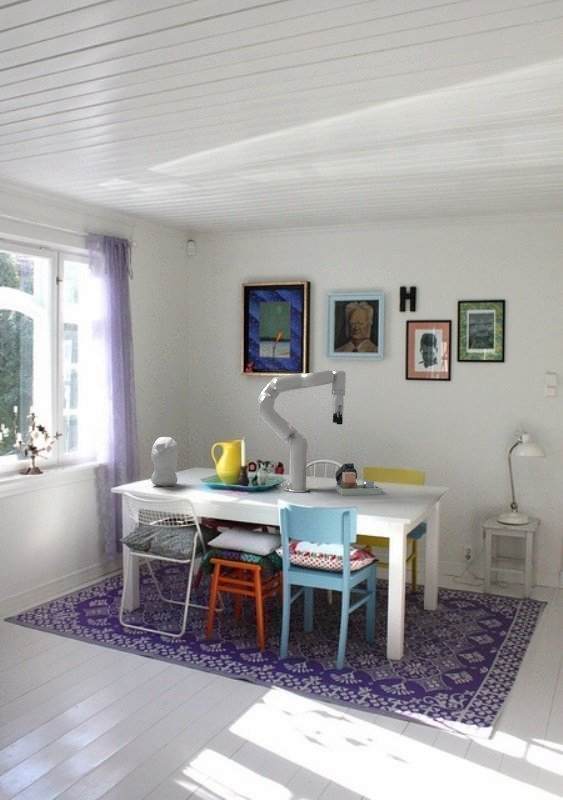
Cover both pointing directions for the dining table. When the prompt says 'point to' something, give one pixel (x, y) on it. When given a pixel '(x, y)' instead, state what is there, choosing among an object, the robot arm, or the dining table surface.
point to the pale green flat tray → (359, 490)
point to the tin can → (368, 484)
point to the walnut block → (348, 485)
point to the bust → (164, 462)
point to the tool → (342, 469)
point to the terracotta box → (349, 477)
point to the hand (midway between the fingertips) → (337, 423)
